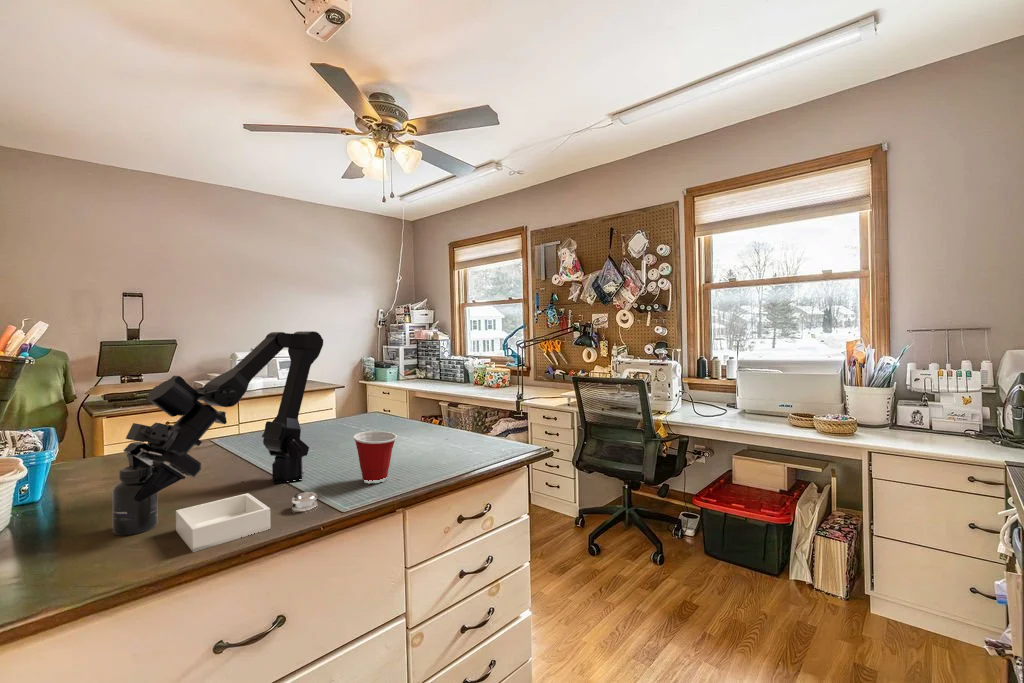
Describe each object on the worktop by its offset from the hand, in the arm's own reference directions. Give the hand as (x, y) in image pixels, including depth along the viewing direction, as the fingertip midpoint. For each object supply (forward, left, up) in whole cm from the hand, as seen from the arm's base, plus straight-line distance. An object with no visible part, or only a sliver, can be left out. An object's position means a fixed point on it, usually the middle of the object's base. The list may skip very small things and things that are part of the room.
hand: (127, 497), depth 86 cm
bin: (-17, +6, -7) cm, 19 cm away
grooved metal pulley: (-31, 0, -7) cm, 32 cm away
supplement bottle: (-1, -1, -7) cm, 7 cm away
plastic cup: (-47, -13, -7) cm, 49 cm away
